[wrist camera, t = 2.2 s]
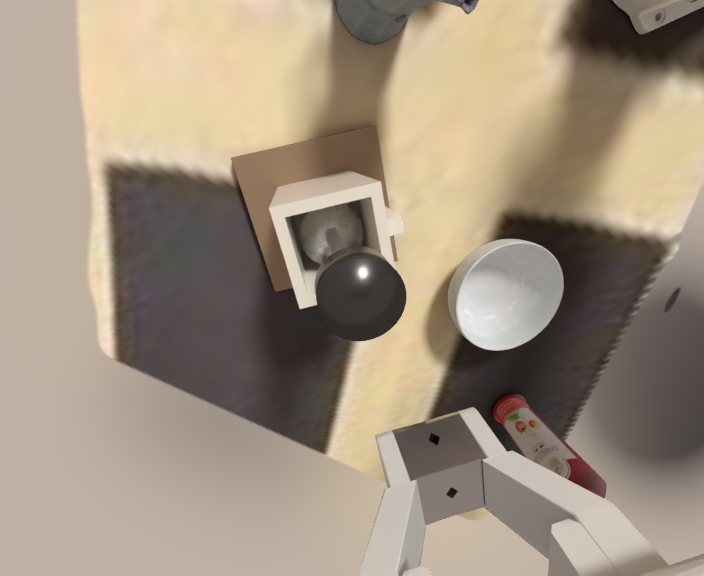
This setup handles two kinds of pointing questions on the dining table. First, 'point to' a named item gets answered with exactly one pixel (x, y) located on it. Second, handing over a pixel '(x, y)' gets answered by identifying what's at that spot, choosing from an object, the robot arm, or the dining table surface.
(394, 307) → the dark-topped thin piece
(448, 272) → the dining table surface
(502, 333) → the cereal bowl
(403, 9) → the moka pot
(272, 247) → the hollow square stand
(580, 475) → the liquor
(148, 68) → the dining table surface
